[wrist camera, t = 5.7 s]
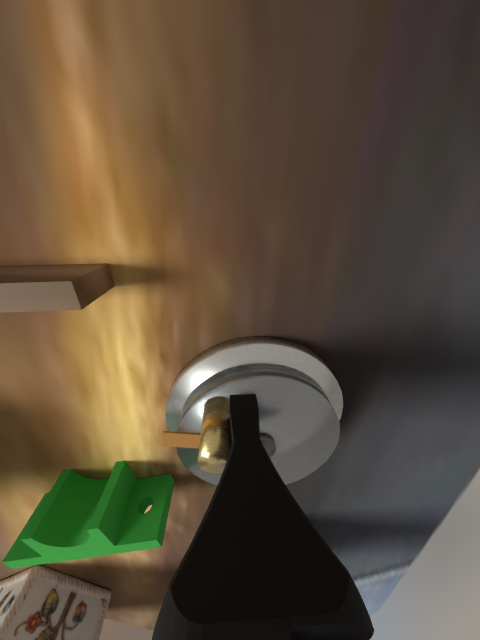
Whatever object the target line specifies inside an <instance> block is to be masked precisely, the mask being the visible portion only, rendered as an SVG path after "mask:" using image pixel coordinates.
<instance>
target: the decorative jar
mask: <svg viewBox="0 0 480 640" xmlns="http://www.w3.org/2000/svg"><path fill="white" fill-rule="evenodd" d="M110 598H111V591H110V590H107V589H104V588H102V587H99V586H96V585H94V584H91V583H88V582H86V581H83V580H80V579H77V578H75V577H72V576H69V575H66V574H63V573H60V572H58V571H55V570H52V569H49V568H46V567H44V566H41V565H35V566H33V567H31V568H28V569H26V570H24V571H21V572H20V573H17V574H15V575H13V576H10V577H8V578H5V579H3V580H1V581H0V640H99V637H100V634H101V630H102V626H103V623H104V619H105V616H106V613H107V609H108V605H109V602H110Z"/></svg>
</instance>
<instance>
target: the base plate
mask: <svg viewBox="0 0 480 640" xmlns="http://www.w3.org/2000/svg"><path fill="white" fill-rule="evenodd" d="M253 363H271V364H278V365H284V366H288V367H291V368H294V369H297V370H299V371H301V372H303V373H305V374H307V375H308V376H310V377H311V378H313V379H314V380H315V381H316V382H317V383H318V384H319V385H320V386H321V387H322V388H323V390H324V392H325V393H326V395H327V397H328V399H329V401H330V403H331V405H332V406H333V408H334V410H335V412H336V414H337V417H338V420H339V421H340V418H341V416H342V410H343V397H342V392H341V389H340V386H339V384H338V382H337V380H336V378H335V377H334V375H333V374H332V372H331V371H330V369H329V367H328V366H327V364H326V363H325V362H324V361H323V360H322V359H321V358H320V357H319V356H318V355H316V354H315V353H314V352H313V351H311V350H309V349H308V348H306V347H304V346H302V345H300V344H297V343H295V342H292V341H288V340H284V339H281V338H273V337H245V338H239V339H234V340H229V341H226V342H223V343H221V344H218V345H215V346H213V347H211V348H209V349H207V350H205V351H204V352H202V353H200V354H199V355H197V356H196V357H195V358H193V359H192V360H191V361H190V362H189V363H188V364H187V365H186V366H185V367H184V368H183V369H182V370H181V372H180V373H179V375H178V376H177V378H176V379H175V381H174V384H173V386H172V388H171V392H170V395H169V398H168V402H167V406H166V423H167V427H168V430H169V431H170V432H177V429H178V425H179V420H180V416H181V411H182V408H183V406H184V403H185V401H186V400H187V398H188V396H189V395H190V394H191V392H192V391H193V390H194V389H195V388H196V387H197V386H198V385H199V384H200V383H202V382H203V381H205V380H206V379H207V378H209V377H211V376H213V375H214V374H216V373H218V372H221V371H223V370H226V369H228V368H232V367H236V366H239V365H245V364H253Z"/></svg>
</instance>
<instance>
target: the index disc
mask: <svg viewBox="0 0 480 640" xmlns="http://www.w3.org/2000/svg"><path fill="white" fill-rule="evenodd" d="M239 394H256V397H257V402H258V408H259V429H260V440H261V442H262V444H263V446H264V448H265V450H266V452H267V454H268V456H269V458H270V459H271V461H272V463H273V465H274V467H275V468H276V470H277V472H278V474H279V475H280V477H281V479H282V480H283V482H284V483H285V485H287V484H290V483H292V482H295V481H298V480H300V479H302V478H304V477H306V476H307V475H309V474H311V473H312V472H314V471H315V470H317V469H318V468H319V467H320V466H322V465H323V464H324V463H325V462H326V461H327V460H328V458H329V457H330V456H331V455H332V453H333V452H334V450H335V448H336V446H337V444H338V440H339V436H340V424H339V420H338V417H337V414H336V412H335V410H334V408H333V406H332V405H331V403H330V401H329V399H328V397H327V395H326V393H325V392H324V390H323V388H322V387H321V386H320V385H319V384H318V383H317V382H316V381H315V380H314V379H313V378H311V377H310V376H308V375H307V374H305V373H303V372H301V371H299V370H297V369H294V368H291V367H288V366H284V365H278V364H271V363H253V364H245V365H239V366H236V367H232V368H228V369H226V370H223V371H221V372H218V373H216V374H214V375H213V376H211V377H209V378H207V379H206V380H205V381H203V382H202V383H200V384H199V385H198V386H197V387H196V388H195V389H194V390H193V391H192V392H191V394H190V395H189V396H188V398H187V400H186V401H185V403H184V406H183V408H182V411H181V416H180V420H179V425H178V429H177V432H170V431H163V443H162V446H166V447H176V448H177V453H178V455H179V457H180V460H181V461H182V462H183V464H184V465H185V466H186V467H187V469H188V470H189V471H190V472H192V473H193V474H194V475H196V476H197V477H199V478H200V479H202V480H204V481H206V482H208V483H211V484H214V485H216V486H218V483H219V481H220V478H221V475H222V473H223V470H224V467H225V465H226V462H227V459H228V456H229V453H230V449H231V446H232V441H231V426H230V395H239Z"/></svg>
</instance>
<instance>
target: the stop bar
mask: <svg viewBox="0 0 480 640" xmlns="http://www.w3.org/2000/svg"><path fill="white" fill-rule="evenodd" d="M113 287H114V285H113V281H112V278H111V274H110V270H109V267H108V264H77V265H41V266H4V267H0V312H29V311H58V310H82V309H83V308H85V307H86V306H87V305H89V304H90V303H92V302H93V301H94V300H96V299H97V298H99V297H100V296H101V295H103V294H104V293H106V292H107V291H108V290H110V289H111V288H113Z"/></svg>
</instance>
